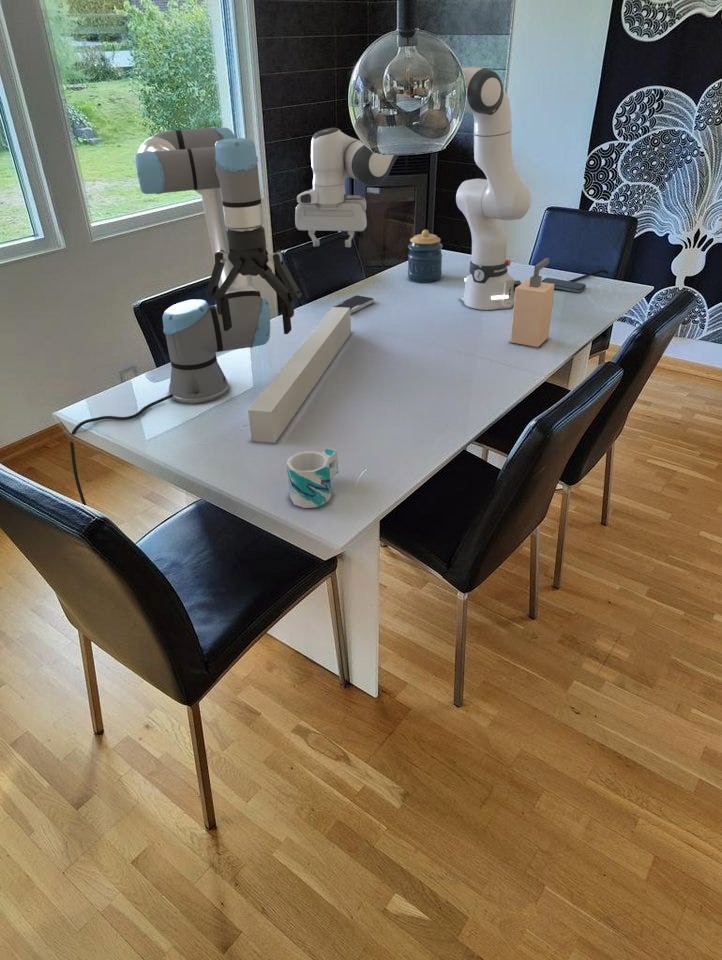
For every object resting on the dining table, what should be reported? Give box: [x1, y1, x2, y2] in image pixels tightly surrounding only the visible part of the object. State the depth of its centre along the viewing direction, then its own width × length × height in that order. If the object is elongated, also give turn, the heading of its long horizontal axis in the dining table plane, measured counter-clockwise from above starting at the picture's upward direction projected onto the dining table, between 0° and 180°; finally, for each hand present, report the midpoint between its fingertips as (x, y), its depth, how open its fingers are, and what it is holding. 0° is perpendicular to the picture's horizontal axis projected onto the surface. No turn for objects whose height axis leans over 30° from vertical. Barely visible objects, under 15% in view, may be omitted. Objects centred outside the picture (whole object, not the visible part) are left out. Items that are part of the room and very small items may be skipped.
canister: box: [407, 229, 444, 283], centre depth 252 cm, size 13×13×18 cm
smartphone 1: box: [332, 295, 374, 315], centre depth 231 cm, size 8×1×15 cm
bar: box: [247, 306, 352, 444], centre depth 180 cm, size 71×6×8 cm, turn 167°
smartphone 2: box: [541, 277, 587, 293], centre depth 241 cm, size 8×2×15 cm
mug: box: [286, 448, 339, 509], centre depth 133 cm, size 8×12×8 cm
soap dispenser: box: [510, 257, 555, 348], centre depth 195 cm, size 13×9×22 cm
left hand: (257, 330), depth 144 cm, fingers open, 13 cm apart
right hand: (332, 246), depth 192 cm, fingers open, 8 cm apart
